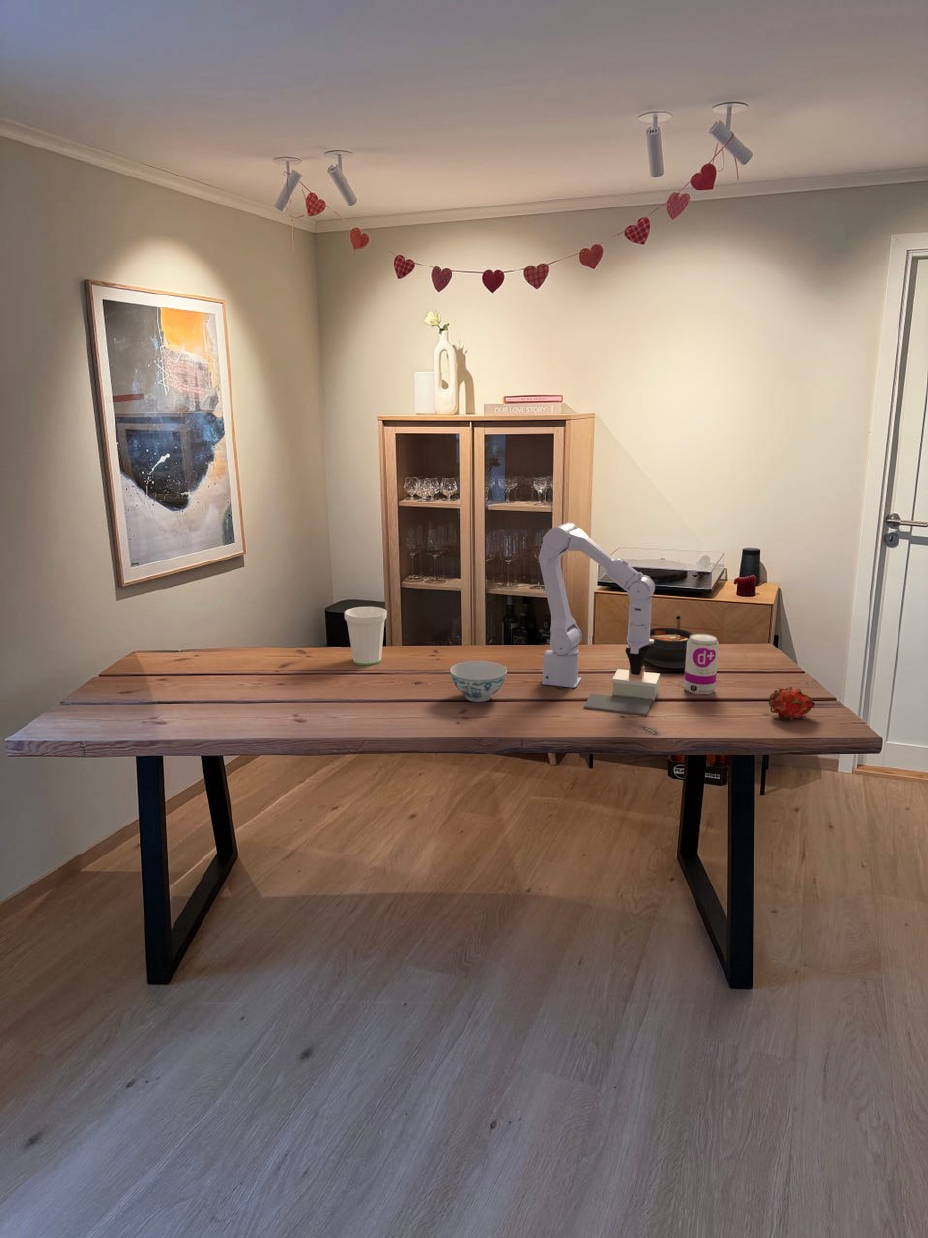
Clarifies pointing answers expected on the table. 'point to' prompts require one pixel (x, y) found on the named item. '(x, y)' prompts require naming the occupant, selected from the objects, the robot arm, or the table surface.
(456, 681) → the chinaware
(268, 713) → the table surface
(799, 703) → the dragon fruit
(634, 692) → the storage box
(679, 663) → the casserole
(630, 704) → the mat
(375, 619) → the cup
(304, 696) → the table surface
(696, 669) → the supplement can
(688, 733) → the table surface
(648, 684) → the lid
